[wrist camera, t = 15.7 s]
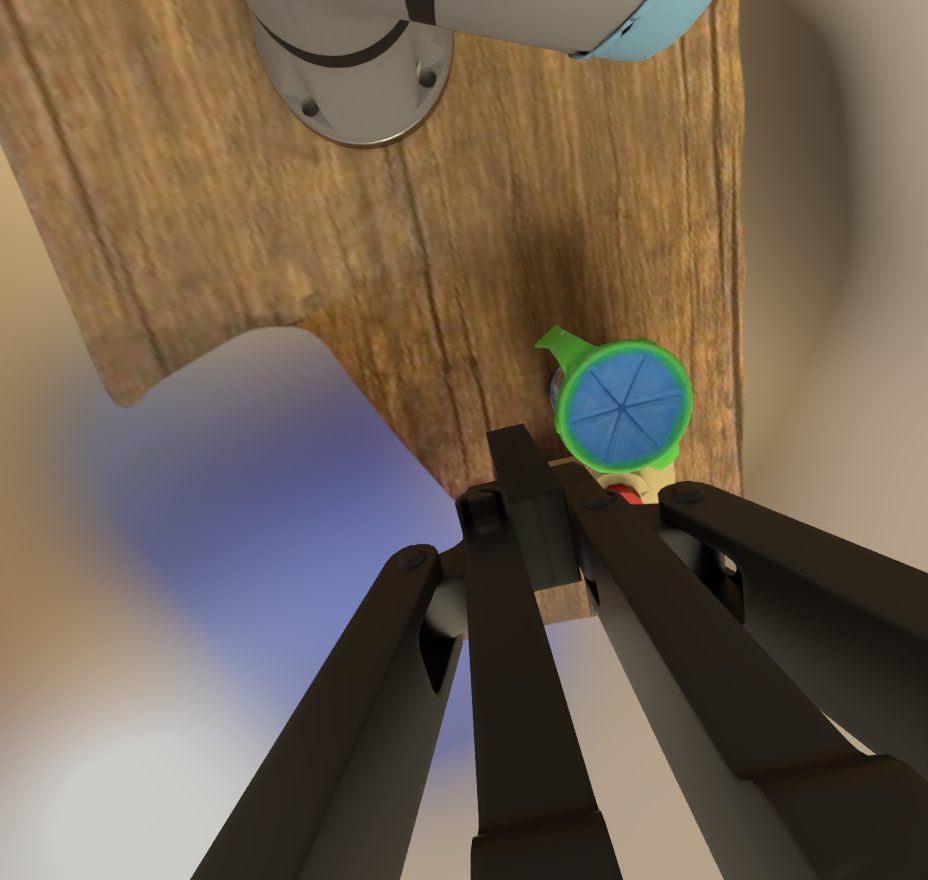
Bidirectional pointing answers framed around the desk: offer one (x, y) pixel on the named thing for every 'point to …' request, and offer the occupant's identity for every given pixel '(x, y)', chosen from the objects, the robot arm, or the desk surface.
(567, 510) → the robot arm
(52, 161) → the desk surface
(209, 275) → the desk surface
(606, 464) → the snack cup
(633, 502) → the button
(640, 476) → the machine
